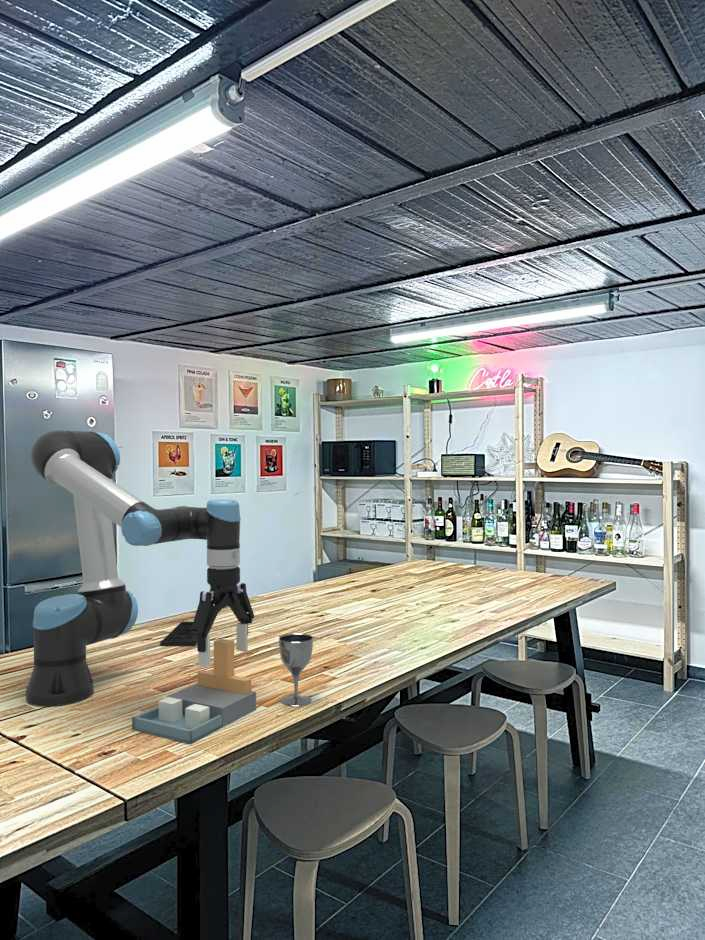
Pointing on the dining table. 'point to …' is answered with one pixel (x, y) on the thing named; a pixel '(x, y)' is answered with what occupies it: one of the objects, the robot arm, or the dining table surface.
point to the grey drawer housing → (217, 701)
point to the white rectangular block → (196, 715)
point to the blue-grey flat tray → (174, 727)
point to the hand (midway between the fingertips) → (223, 658)
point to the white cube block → (170, 709)
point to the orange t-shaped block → (224, 670)
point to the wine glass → (295, 662)
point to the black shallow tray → (181, 636)
